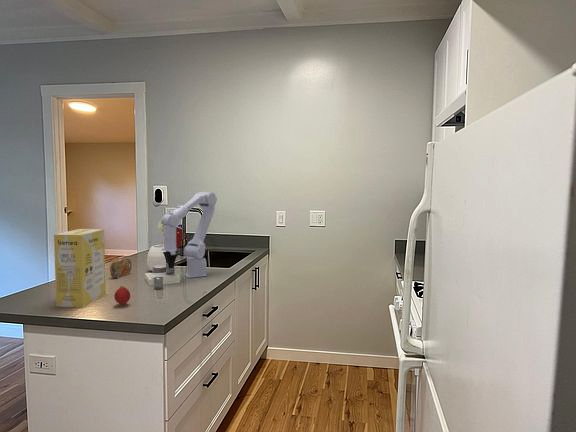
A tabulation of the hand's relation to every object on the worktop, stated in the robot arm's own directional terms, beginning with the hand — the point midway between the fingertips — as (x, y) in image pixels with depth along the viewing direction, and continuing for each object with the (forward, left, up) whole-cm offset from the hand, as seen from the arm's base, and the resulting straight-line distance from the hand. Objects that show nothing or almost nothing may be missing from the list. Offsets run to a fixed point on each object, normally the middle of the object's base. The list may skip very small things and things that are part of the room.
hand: (170, 267), depth 201 cm
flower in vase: (-10, -67, -7) cm, 68 cm away
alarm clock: (-24, -97, -7) cm, 100 cm away
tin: (+20, -21, -7) cm, 30 cm away
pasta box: (+38, +17, -7) cm, 43 cm away
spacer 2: (0, 0, -3) cm, 3 cm away
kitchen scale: (+3, -2, -7) cm, 8 cm away
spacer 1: (+7, +11, -7) cm, 15 cm away
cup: (0, -25, -7) cm, 26 cm away
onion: (+24, +31, -7) cm, 40 cm away
